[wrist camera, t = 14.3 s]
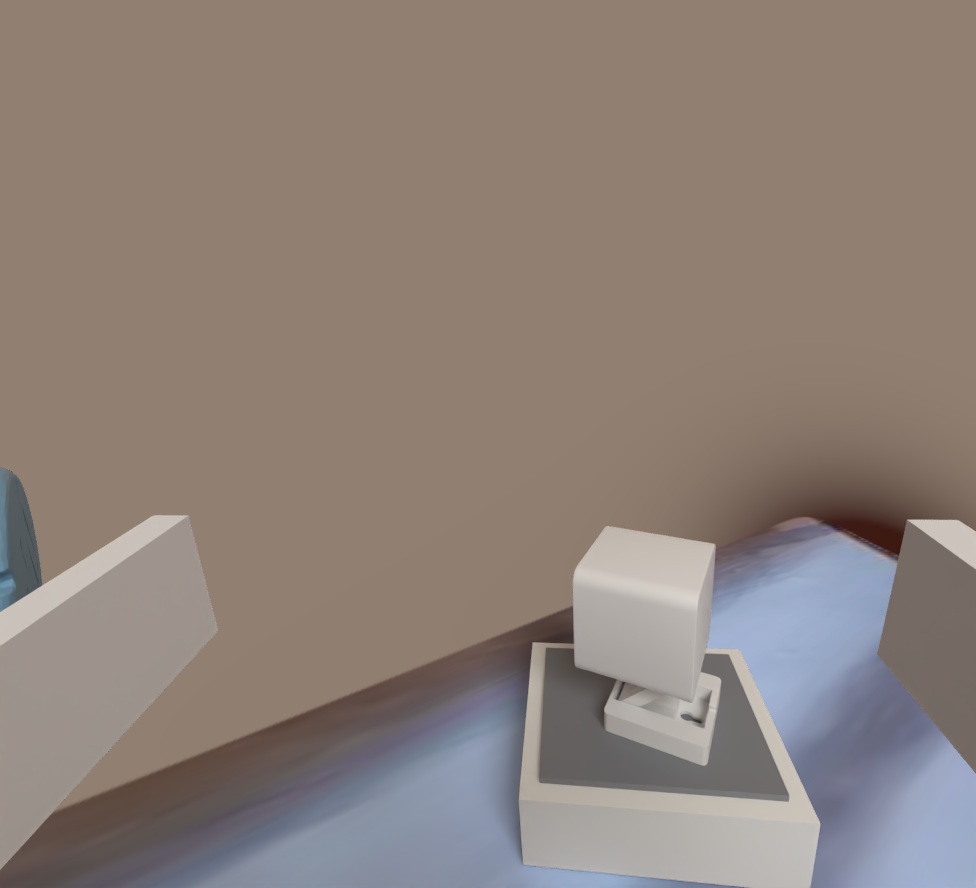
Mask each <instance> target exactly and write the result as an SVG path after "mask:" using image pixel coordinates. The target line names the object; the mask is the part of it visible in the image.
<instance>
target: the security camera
mask: <svg viewBox="0 0 976 888" xmlns="http://www.w3.org/2000/svg"><path fill="white" fill-rule="evenodd" d="M714 562H715V544H712V543H706V542H700V541H693V540H688V539H682V538H676V537H670V536H664V535H658V534H652V533H646V532H641V531H634V530H628V529H623V528H617V527H611V526H606V527H605V528H604V530H603V531H602V532H601V534H600V535H599V536H598V538H597V539H596V541H595V542H594V543H593V545H592V546H591V547H590V549H589V550H588V552H587V553H586V555H585V556H584V557H583V559H582V560H581V561H580V563H579V564H578V566H577V567H576V569H575V572H574V576H573V623H574V663H575V666H576V667H577V668H580V669H584V670H588V671H591V672H594V673H598V674H601V675H604V676H607V677H611V678H614V679H617V681H616V683H615V685H614V688H613V690H612V692H611V695H610V697H609V699H608V701H607V704H606V706H605V708H604V728H605V730H606V731H608V732H611V733H613V734H616V735H619V736H622V737H624V738H627V739H630V740H633V741H635V742H638V743H641V744H644V745H646V746H649V747H652V748H655V749H658V750H660V751H663V752H666V753H669V754H671V755H674V756H677V757H680V758H682V759H685V760H688V761H691V762H693V763H696V764H699V765H702V766H705V765H707V763H708V759H709V754H710V748H711V743H712V737H713V732H714V727H715V721H716V716H717V711H718V705H719V700H720V689H721V679H720V678H719V677H717V676H713V675H710V674H706V673H703V672H701V668H702V664H703V660H704V656H705V652H706V648H707V643H708V639H709V632H710V621H711V606H712V592H713V577H714ZM682 714H688V715H690V716H691V717H692V718H693V719H696V720H699V721H701V722H702V723H697V722H694V721H686V720H684V719H682V718H681V715H682Z"/></svg>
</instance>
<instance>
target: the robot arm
mask: <svg viewBox="0 0 976 888" xmlns="http://www.w3.org/2000/svg"><path fill="white" fill-rule="evenodd" d="M217 632H218V628H217V624H216V620H215V616H214V613H213V609H212V605H211V602H210V597H209V593H208V590H207V586H206V582H205V578H204V574H203V570H202V567H201V562H200V558H199V555H198V551H197V547H196V544H195V539H194V535H193V532H192V528H191V524H190V520H189V516H167V515H165V516H161V515H153V516H152V517H150V518H149V519H147V520H145V521H144V522H142V523H141V524H139V525H137V526H136V527H134V528H133V529H131V530H130V531H128V532H126V533H125V534H123V535H122V536H120V537H119V538H117V539H115V540H114V541H112V542H111V543H109V544H107V545H106V546H104V547H103V548H101V549H99V550H98V551H96V552H95V553H93V554H92V555H90V556H88V557H87V558H85V559H84V560H83V561H80V562H79V563H77V564H76V565H74V566H73V567H71V568H70V569H68V570H66V571H65V572H63V573H62V574H60V575H58V576H57V577H55V578H54V579H52V580H50V581H49V582H47V583H46V584H44V585H42V579H41V569H40V562H39V555H38V548H37V541H36V536H35V530H34V526H33V520H32V516H31V512H30V508H29V504H28V501H27V497H26V495H25V492H24V489H23V486H22V484H21V482H20V480H19V478H18V477H17V476H16V475H15V474H14V473H13V472H12V471H10V470H8V469H5V468H2V467H0V870H1V868H2V867H3V866H4V865H5V864H6V863H7V862H8V861H9V860H10V859H11V857H12V856H13V855H14V854H15V853H16V852H17V851H18V850H19V849H20V848H21V847H22V845H23V844H24V843H25V842H26V841H27V840H28V839H29V838H30V837H31V836H32V834H33V833H34V832H35V831H36V830H37V829H38V828H39V827H40V826H41V825H42V823H43V822H44V821H45V820H46V819H47V818H48V817H49V816H50V815H51V814H52V813H53V811H54V810H55V809H56V808H57V807H58V806H59V805H60V804H61V803H62V801H63V800H64V799H65V798H66V797H67V796H68V795H69V794H70V793H71V792H72V791H73V789H74V788H75V787H76V786H77V785H78V784H79V783H80V782H81V781H82V780H83V779H84V777H85V776H86V775H87V774H88V773H89V772H90V771H91V769H93V768H94V766H95V765H96V764H97V763H98V762H99V761H100V760H101V759H102V758H103V756H104V755H105V754H106V753H107V752H108V751H109V750H110V749H111V748H112V747H113V746H114V744H115V743H116V742H117V741H118V740H119V739H120V738H121V737H122V736H123V735H124V734H125V732H126V731H127V730H128V729H129V728H130V727H131V726H132V725H133V724H134V722H135V721H136V720H137V719H138V718H139V717H140V716H141V715H142V714H143V713H144V711H145V710H146V709H147V708H148V707H149V706H150V705H151V704H152V703H153V702H154V701H155V699H156V698H157V697H158V696H159V695H160V694H161V693H162V692H163V691H164V690H165V689H166V687H167V686H168V685H169V684H170V683H171V682H172V681H173V680H174V679H175V678H176V676H177V675H178V674H179V673H180V672H181V671H182V670H183V669H184V668H185V667H186V666H187V664H188V663H189V662H190V661H191V660H192V659H193V658H194V657H195V656H196V654H197V653H198V652H199V651H200V650H201V649H202V648H203V647H204V646H205V644H207V642H208V641H209V640H210V639H211V638H212V637H213V636H214V635H215V634H216V633H217ZM877 655H878V656H879V657H880V658H881V659H882V661H883V662H884V663H885V664H886V665H887V667H888V668H889V669H890V670H891V672H892V673H893V674H894V675H895V676H896V678H897V679H898V680H899V681H900V682H901V684H902V685H903V686H904V687H905V688H906V690H907V691H908V692H909V693H910V695H911V696H912V697H913V698H914V699H915V701H916V702H917V703H918V704H919V705H920V707H921V708H922V709H923V710H924V711H925V713H926V714H927V715H928V716H929V717H930V719H931V720H932V721H933V722H934V724H935V725H936V726H937V727H938V728H939V730H940V731H941V732H942V733H943V734H944V736H945V737H946V738H947V739H948V740H949V742H950V743H951V744H952V745H953V746H954V748H955V749H956V750H957V751H958V753H959V754H960V755H961V756H962V757H963V759H964V760H965V761H966V762H967V763H968V765H969V766H970V767H971V768H972V769H973V771H974V772H975V773H976V531H974V530H973V529H971V528H969V527H968V526H966V525H964V524H963V523H962V522H960V521H958V520H907V524H906V528H905V533H904V538H903V542H902V546H901V551H900V555H899V560H898V564H897V569H896V573H895V577H894V582H893V586H892V591H891V595H890V600H889V604H888V609H887V613H886V618H885V622H884V627H883V631H882V636H881V640H880V645H879V649H878V654H877Z"/></svg>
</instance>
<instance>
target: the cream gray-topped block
mask: <svg viewBox="0 0 976 888" xmlns="http://www.w3.org/2000/svg"><path fill="white" fill-rule="evenodd" d="M701 672H703V673H706V674H710V675H713V676H717V677H719V678H720V679H721V689H720V700H719V705H718V711H717V716H716V721H715V727H714V732H713V737H712V743H711V748H710V754H709V759H708V763H707V765H705V766H702V765H699V764H696V763H693V762H691V761H688V760H685V759H682V758H680V757H677V756H674V755H671V754H669V753H666V752H663V751H660V750H658V749H655V748H652V747H649V746H646V745H644V744H641V743H638V742H635V741H633V740H630V739H627V738H624V737H622V736H619V735H616V734H613V733H611V732H608V731H606V730H605V728H604V708H605V706H606V704H607V701H608V699H609V697H610V695H611V692H612V690H613V688H614V685H615V683H616V681H617V679H614V678H611V677H607V676H604V675H601V674H598V673H594V672H591V671H588V670H584V669H580V668H577V667H576V666H575V663H574V644H563V643H535V642H533V644H532V656H531V667H530V678H529V689H528V701H527V712H526V723H525V734H524V745H523V757H522V768H521V779H520V790H519V812H520V827H521V842H522V857H523V865H528V866H538V867H548V868H558V869H568V870H578V871H588V872H598V873H609V874H619V875H629V876H639V877H649V878H659V879H669V880H679V881H689V882H699V883H709V884H719V885H729V886H739V887H749V888H810V885H811V879H812V873H813V867H814V861H815V855H816V848H817V842H818V836H819V830H820V822H819V820H818V818H817V815H816V813H815V811H814V809H813V807H812V805H811V802H810V800H809V798H808V796H807V794H806V792H805V790H804V787H803V785H802V783H801V781H800V779H799V777H798V774H797V772H796V770H795V768H794V766H793V764H792V762H791V759H790V757H789V755H788V753H787V751H786V749H785V746H784V744H783V742H782V740H781V738H780V736H779V733H778V731H777V729H776V727H775V725H774V723H773V721H772V718H771V716H770V714H769V712H768V710H767V708H766V705H765V703H764V701H763V699H762V697H761V695H760V693H759V690H758V688H757V686H756V684H755V682H754V680H753V677H752V675H751V673H750V671H749V669H748V667H747V665H746V662H745V660H744V658H743V656H742V654H741V652H740V650H734V649H706V652H705V656H704V660H703V664H702V668H701ZM681 718H682V719H684V720H686V721H694V722H697V723H702V722H701V721H699V720H696V719H693V718H692V717H691V716H690V715H688V714H682V715H681Z"/></svg>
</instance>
